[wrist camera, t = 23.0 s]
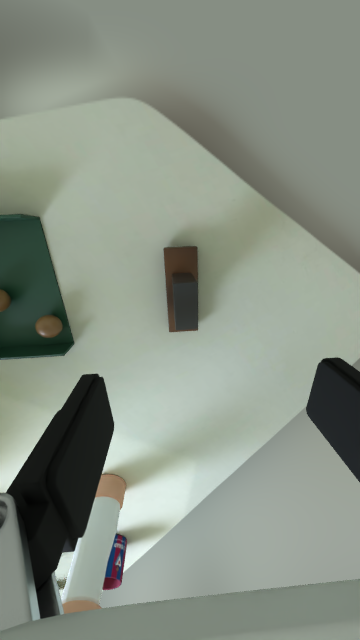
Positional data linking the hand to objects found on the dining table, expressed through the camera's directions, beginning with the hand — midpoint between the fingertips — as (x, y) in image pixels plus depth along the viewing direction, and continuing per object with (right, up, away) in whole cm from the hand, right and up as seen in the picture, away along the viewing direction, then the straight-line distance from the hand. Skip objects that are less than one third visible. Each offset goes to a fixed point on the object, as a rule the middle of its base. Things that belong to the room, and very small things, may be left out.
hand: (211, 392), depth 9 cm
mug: (-19, -54, +43) cm, 71 cm away
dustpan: (-27, +7, +17) cm, 32 cm away
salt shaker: (-16, -31, +34) cm, 49 cm away
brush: (-1, +7, +18) cm, 20 cm away
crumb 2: (-19, +2, +18) cm, 26 cm away
